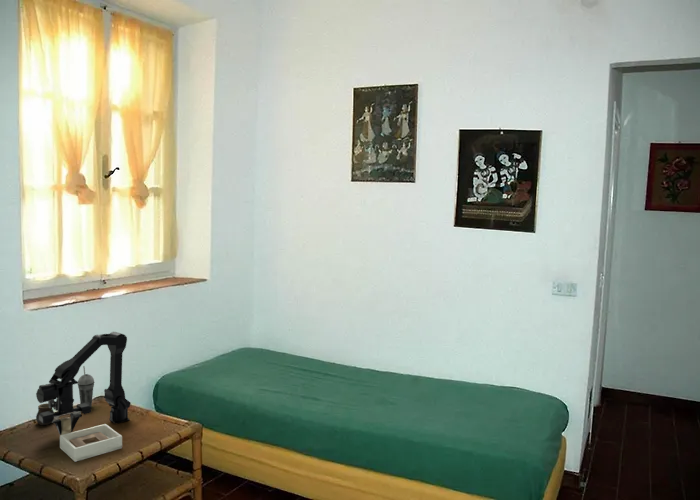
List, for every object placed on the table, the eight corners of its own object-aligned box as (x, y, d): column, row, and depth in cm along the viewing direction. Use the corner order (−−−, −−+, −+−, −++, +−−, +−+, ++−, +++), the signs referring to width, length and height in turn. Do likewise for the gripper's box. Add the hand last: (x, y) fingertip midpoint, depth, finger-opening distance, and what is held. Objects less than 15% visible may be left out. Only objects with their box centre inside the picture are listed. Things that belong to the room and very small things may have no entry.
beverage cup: (98, 405, 274) (97, 364, 272) (86, 410, 267) (86, 368, 265) (85, 403, 276) (85, 362, 274) (74, 408, 269) (73, 366, 267)
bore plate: (100, 436, 238) (100, 431, 238) (112, 446, 229) (112, 441, 229) (69, 444, 229) (69, 439, 229) (81, 455, 221) (81, 450, 221)
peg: (69, 434, 241) (69, 416, 240) (72, 438, 238) (72, 419, 237) (59, 437, 238) (58, 418, 237) (62, 440, 235) (62, 421, 234)
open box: (105, 435, 241) (105, 423, 241) (122, 448, 230) (122, 436, 230) (59, 447, 229) (59, 435, 228) (74, 461, 217) (74, 449, 217)
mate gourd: (38, 420, 255) (38, 398, 254) (57, 419, 256) (57, 397, 255) (33, 426, 248) (33, 404, 247) (53, 426, 249) (53, 403, 248)
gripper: (81, 386, 248) (81, 421, 250) (33, 395, 235) (34, 433, 237) (91, 393, 241) (92, 429, 242) (43, 403, 227) (43, 441, 229)
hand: (65, 433), depth 238 cm, fingers closed on peg, 4 cm apart
